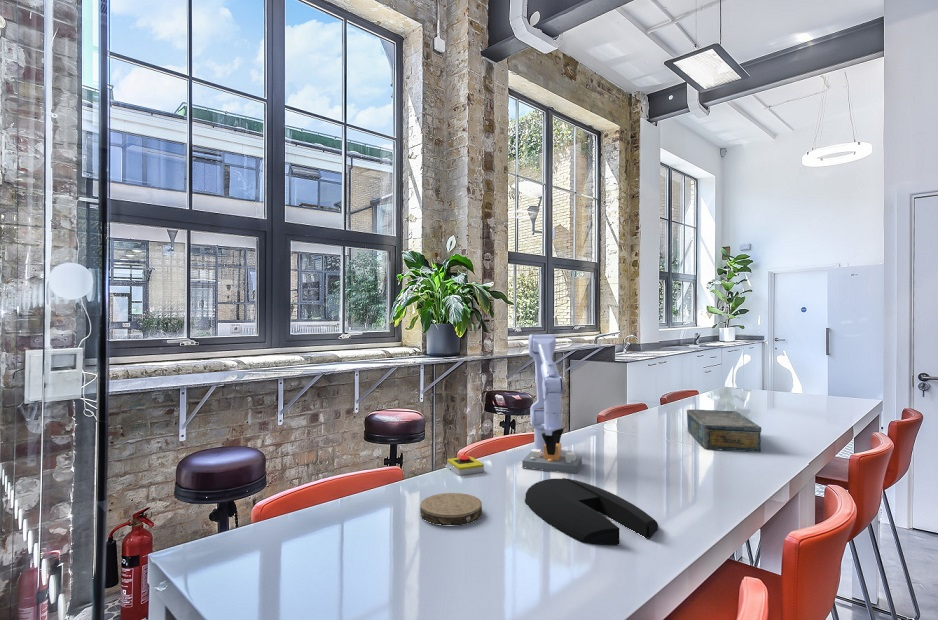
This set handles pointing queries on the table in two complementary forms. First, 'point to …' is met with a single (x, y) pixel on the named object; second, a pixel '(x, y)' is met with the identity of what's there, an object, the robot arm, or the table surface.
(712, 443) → the metal box
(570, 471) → the breaker board
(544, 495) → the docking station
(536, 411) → the robot arm
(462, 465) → the emergency button
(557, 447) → the orange rounded cube
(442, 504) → the wood slice
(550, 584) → the table surface
